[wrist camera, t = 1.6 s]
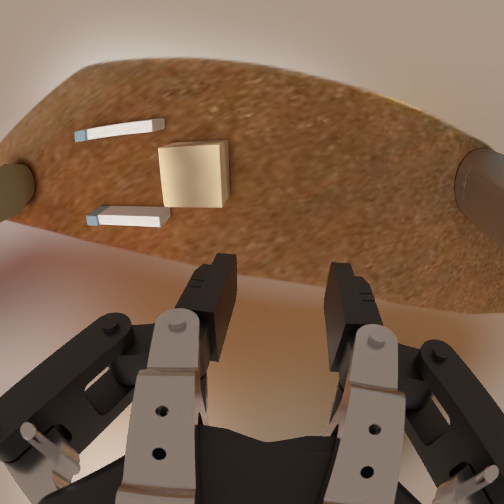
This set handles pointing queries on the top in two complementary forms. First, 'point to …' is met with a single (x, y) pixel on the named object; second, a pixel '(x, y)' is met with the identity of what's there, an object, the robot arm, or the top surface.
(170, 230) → the top surface
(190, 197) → the maple block
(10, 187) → the squeeze bottle
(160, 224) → the corridor
